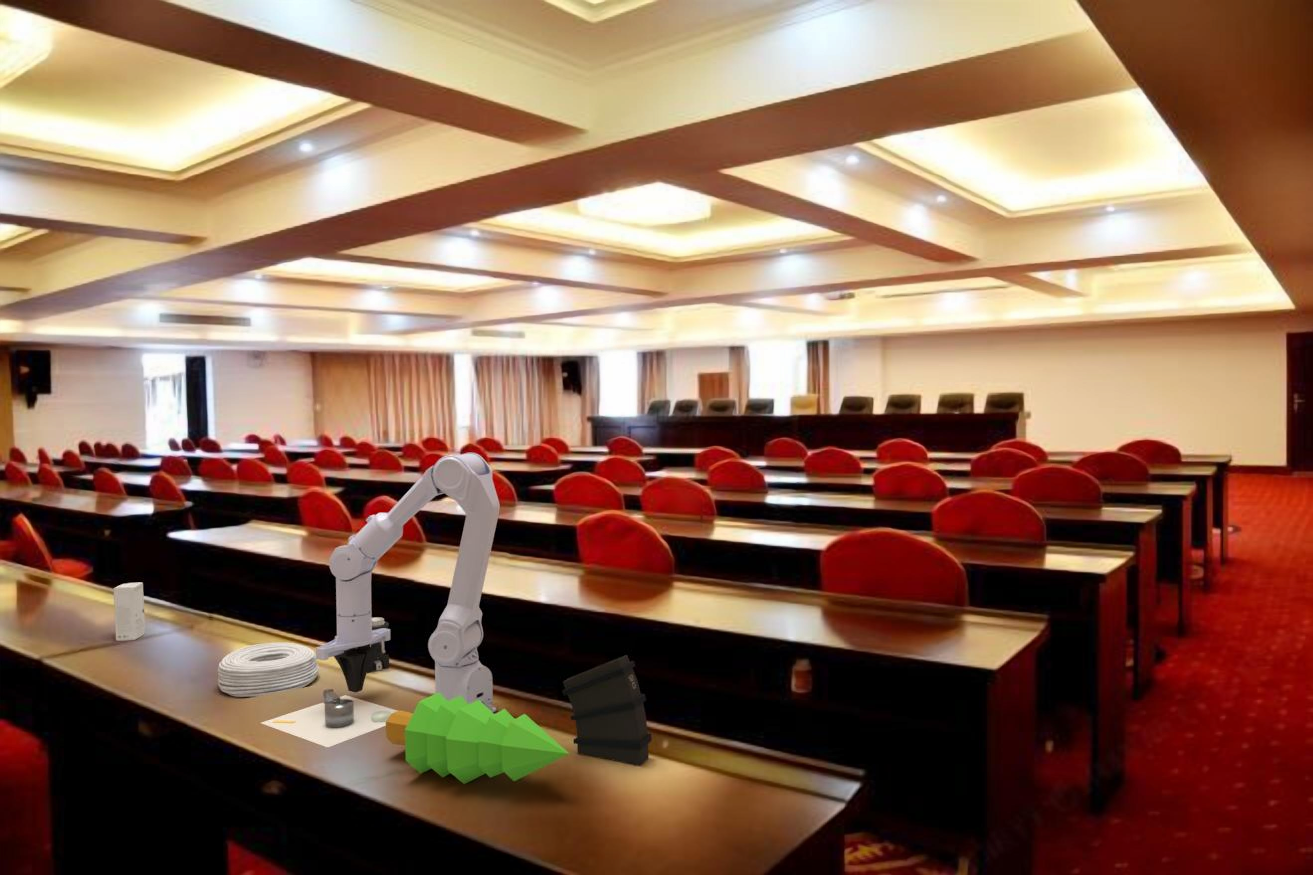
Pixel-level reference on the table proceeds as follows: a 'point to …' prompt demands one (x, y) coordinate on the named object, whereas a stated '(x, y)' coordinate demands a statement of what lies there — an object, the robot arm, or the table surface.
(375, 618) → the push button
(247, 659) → the cable
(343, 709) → the grey crank handle
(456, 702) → the decorative tree
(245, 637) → the table surface
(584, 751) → the magazine
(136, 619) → the skincare box
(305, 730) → the white paper sheet
